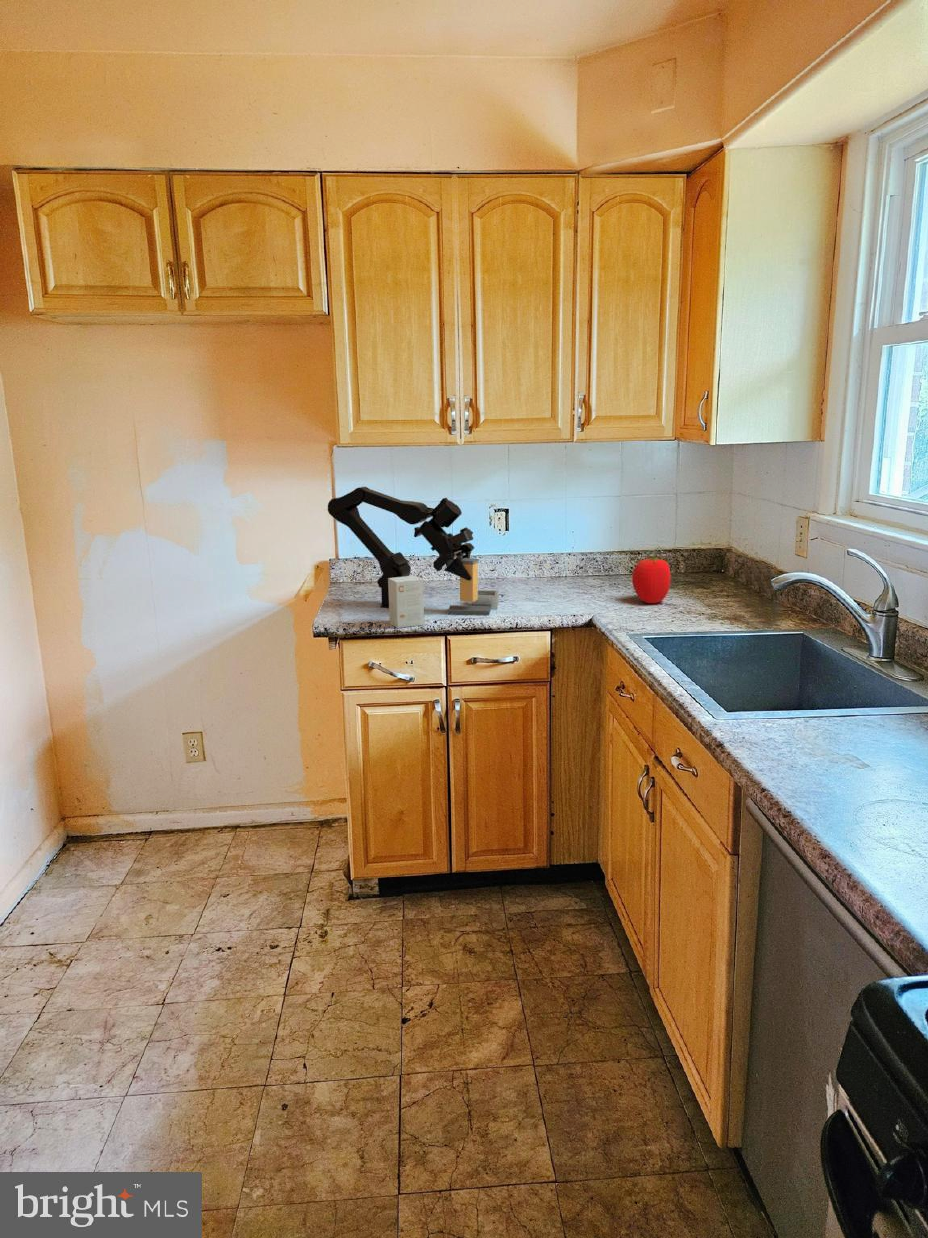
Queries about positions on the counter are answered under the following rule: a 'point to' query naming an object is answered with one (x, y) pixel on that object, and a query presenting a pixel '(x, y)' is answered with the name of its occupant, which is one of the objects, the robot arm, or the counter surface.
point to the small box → (406, 601)
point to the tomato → (651, 580)
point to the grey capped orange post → (469, 587)
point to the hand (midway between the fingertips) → (473, 578)
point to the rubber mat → (469, 610)
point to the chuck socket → (487, 599)
